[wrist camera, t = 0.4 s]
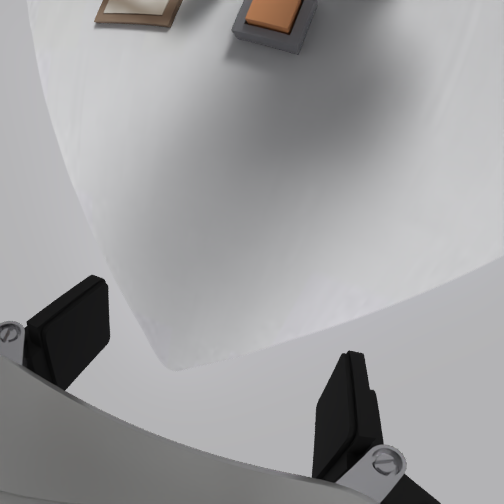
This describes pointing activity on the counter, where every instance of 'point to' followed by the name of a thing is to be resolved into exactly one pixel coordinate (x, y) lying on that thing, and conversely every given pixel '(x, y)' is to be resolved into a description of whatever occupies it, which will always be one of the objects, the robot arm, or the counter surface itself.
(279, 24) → the button
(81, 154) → the counter surface
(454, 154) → the counter surface
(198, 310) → the counter surface
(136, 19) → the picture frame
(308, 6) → the button housing
